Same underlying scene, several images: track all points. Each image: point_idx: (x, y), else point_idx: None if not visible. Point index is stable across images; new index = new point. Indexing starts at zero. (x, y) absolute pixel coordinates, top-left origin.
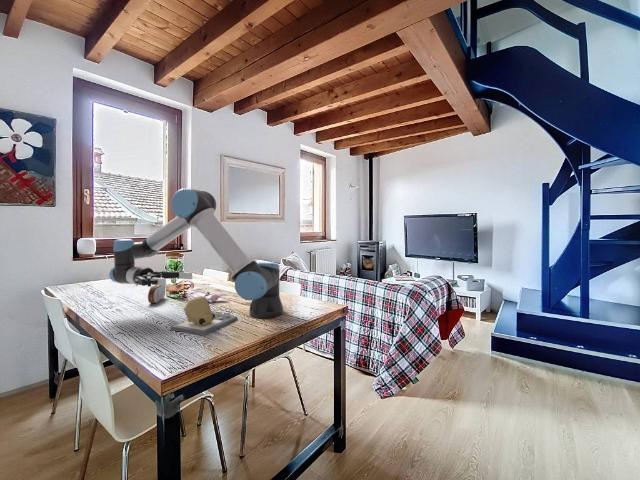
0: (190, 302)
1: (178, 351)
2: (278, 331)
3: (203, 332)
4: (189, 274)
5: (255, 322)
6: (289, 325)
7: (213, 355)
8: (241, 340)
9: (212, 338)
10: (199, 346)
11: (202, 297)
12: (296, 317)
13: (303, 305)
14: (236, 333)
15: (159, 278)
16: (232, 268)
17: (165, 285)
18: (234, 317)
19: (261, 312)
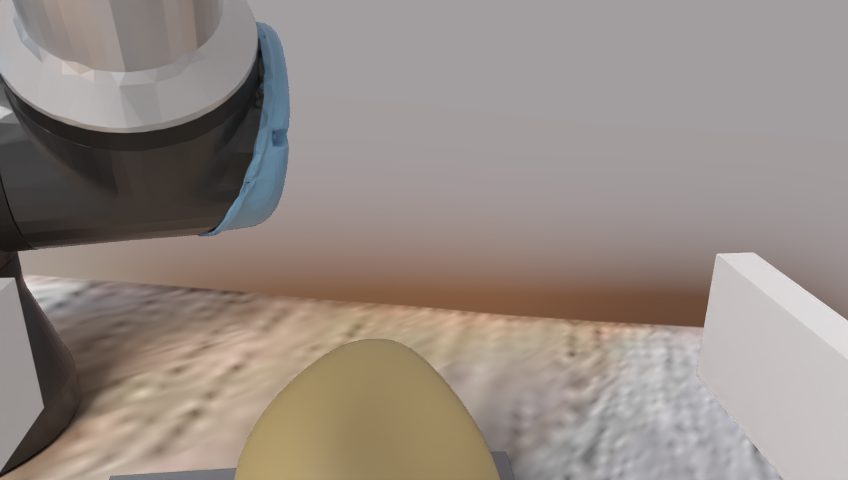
0: (466, 412)
1: (734, 432)
2: (276, 298)
3: (506, 454)
4: (6, 329)
5: (169, 394)
6: (183, 298)
7: (624, 333)
8: (442, 336)
9: (505, 418)
10: (618, 404)
11: (366, 341)
12: (44, 313)
13: None
14: None
15: (827, 311)
16: (218, 14)
17: (706, 373)
18: (143, 477)
19: (70, 365)
